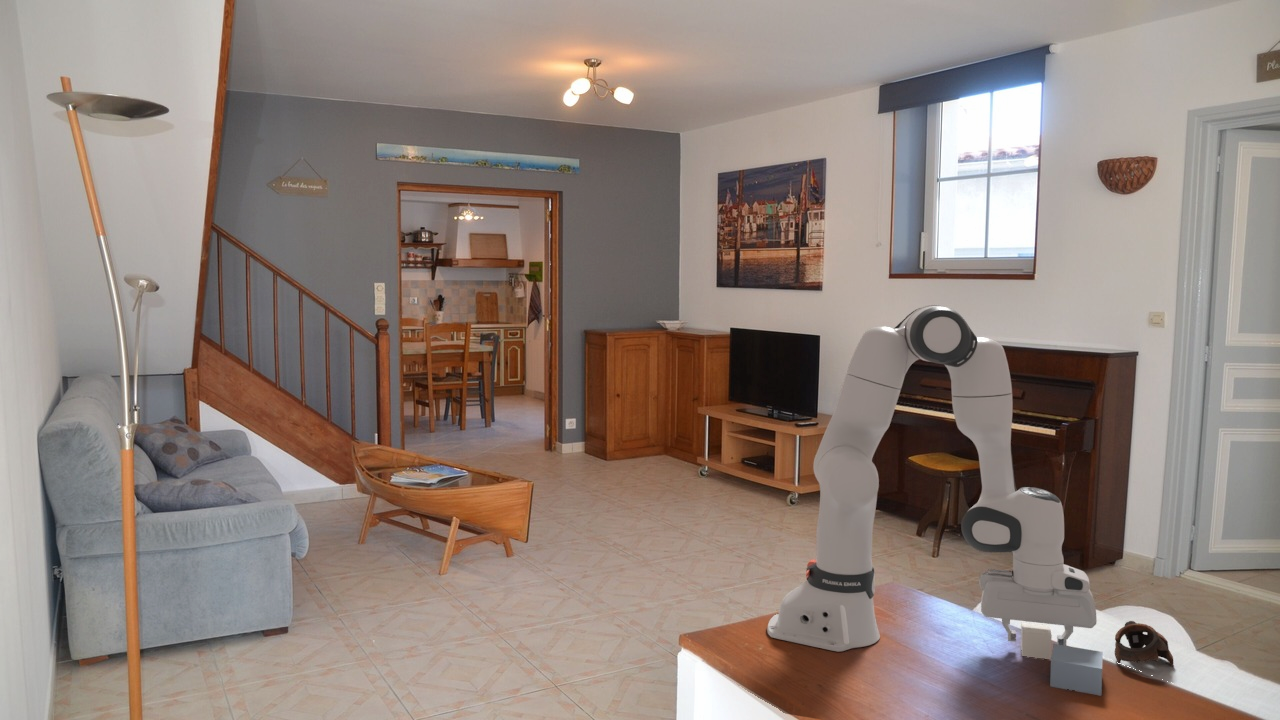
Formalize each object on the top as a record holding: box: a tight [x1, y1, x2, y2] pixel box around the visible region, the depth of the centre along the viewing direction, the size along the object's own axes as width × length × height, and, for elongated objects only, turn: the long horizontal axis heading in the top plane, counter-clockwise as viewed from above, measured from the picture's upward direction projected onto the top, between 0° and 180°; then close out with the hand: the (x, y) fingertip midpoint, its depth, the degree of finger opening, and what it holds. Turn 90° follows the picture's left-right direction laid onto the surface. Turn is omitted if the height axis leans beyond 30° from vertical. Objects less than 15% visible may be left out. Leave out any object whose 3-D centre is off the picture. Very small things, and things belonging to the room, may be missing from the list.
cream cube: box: [1020, 621, 1053, 659], centre depth 168 cm, size 5×5×5 cm
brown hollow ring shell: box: [1114, 620, 1174, 667], centre depth 164 cm, size 12×10×8 cm
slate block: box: [1049, 643, 1104, 696], centre depth 155 cm, size 8×8×5 cm
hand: (1036, 643), depth 168 cm, fingers open, 7 cm apart
